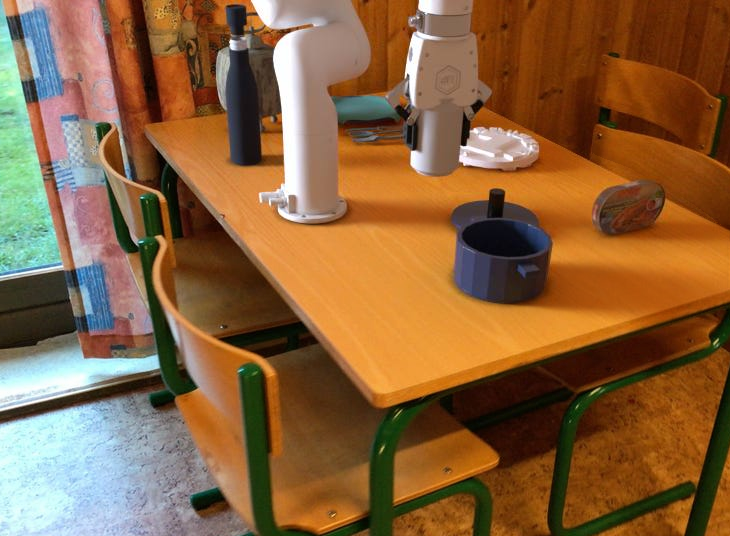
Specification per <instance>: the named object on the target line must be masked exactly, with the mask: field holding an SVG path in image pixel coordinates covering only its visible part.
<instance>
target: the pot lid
mask: <svg viewBox="0 0 730 536" xmlns="http://www.w3.org/2000/svg"><path fill="white" fill-rule="evenodd" d="M505 199H506V190H505V189H503V188H498V187H495V188H491V189H489V191H488V199H482V200H472V201H468V202H465V203H462V204H460V205H458V206H456V207H455V208H454V209H453V210H452V212H451V215H450V220H451V223H452V224H453V225H454V227H456V229H458V230H459V229H460V228H461V226H463V225H465V224H467V223H469V222H471V217H473V216H481V215H485V216H486V217H487V218H508V219H516V220H521V221H524V222H528V223H532V224H534V225H536V226H538V227H539V218H538V216H537V215H536V213H535V212H533V211H532V210H531V209H529V208H527V207H525V206H523V205H520V204H518V203H514V202H511V201H505Z"/></svg>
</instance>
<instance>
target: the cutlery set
mask: <svg viewBox="0 0 730 536" xmlns="http://www.w3.org/2000/svg"><path fill="white" fill-rule="evenodd" d="M330 97H331V99H332V101H333V103H334V105H335V107H336V110H337V116H338V124H341V125H344V124H345V123H347V124H348V123H349V124H375V123H376V124H377V123H382V122H383V123H384V122H386V121H390V120H393V119H394V121H395V124H397V123H399V121H400V120H401V119H402V118H401V117H400V116H399V115H398V114H397V113H396V112H395V111H394V109H393V108H392V107H391V105H390V104H389V102H388V101H387V100H386V98H385V96H380V95H372V94H366V95H345V96H330ZM389 129H390V130H389ZM403 129H404V125H401V126H385V125H381V126H379V125H377V126H376V127H359V128H349V129H345V133H348V136H349V137H352V138H351V141H352V143H356V144H357V143H358V144H359V143H377V142H379V141H380V140H385V141H386V140H387V141H393V140H403V134H400V135H392V136H391V135H390V136H379V135H385V134H395V133H403ZM381 130H382V131H381ZM373 131H377V132H373ZM353 138H354V139H353ZM355 138H356V139H355Z"/></svg>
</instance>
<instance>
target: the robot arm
mask: <svg viewBox="0 0 730 536" xmlns="http://www.w3.org/2000/svg"><path fill="white" fill-rule="evenodd" d="M250 1H251V3H252V4H253V7H254V9H255V12H257V13H258V15H259V16H260V17H259V16H258V17H259V18H260V20H261V21H262V22H263V24H264V23H265V25H266V27H267V28H270V29H273V30H286V29H291V28H292V29H293V28H297V27H302V26H307V25H312V26H310V27H306V28H301V29H297V30H293V31H292V32H289V33H287V34H285V35H284V36H282V37H281V38H280V39H279V40H278V42H277V43H276V45H275V50H274V57H273V59H274V68H275V72H276V76H277V81H278V85H279V90H280V96H281V105H282V113H281V116H282V117H281V119H282V138H283V165H284V183H281V184H280V186H281V187H280V188H277V189H276V191H263V192H262V191H261V192H259V202H260V204H268V203H269V207H277V212H278V214H279V215H280V216H281V217H282V218H283V219H286V220H289V221H291V222H295V223H299V224H312V225H314V224H324V223H330V222H333V221H336V220H338V219H340V218H342V217H343V216H344V215H345V214H346V213H347V211H348V204H347V201H346V200H345V199H344V198H343V197H342V196H340V195H339V123H338V116H337V110H336V107H335V105H334V103H333V101H332V99H331V97H332V96H331V95H330V93H329V91H328V87H330V86H333V85H335V84H336V85H337V84H340V83H343V82H347V81H350V80H354V79H356V78H358V77H361V76H362V75H363V74H364V73H366V72H367V70H368V68H369V67H370V64H371V59H372V49H371V43H370V40H369V38H368V35H367V32H366V30H365V27H364V26H363V22H362V21H361V19H360V16H359V15H358V12H357V11H356V9H355V7H354V5H353V2H352V0H250ZM473 7H474V0H418V9H416V14H414V15H413V16H408V19H407V20H408V21H407V22H408V26H409V27H412V28H413V27H414V28H415V30H416V31H414V32H413V33H412V36H411V39H410V44H409V48H408V53H407V58H406V64H405V65H406V66H405V72H404V73H405V74H404V79H402V80H401V81H400V82H399V83H397V84H396V85H395V86H394V87H393V88H392V89H391V90H389V91H388V92H387V93H386V94H385V96H384V98H386V100H387V101H388V102H389V104H390V105H391V107H392V108H393V109H394V111H395V112H396V113H397V114H398V115H399V116H400V117H401V119H402V120H403V126H404V128H402V129H403V132H402V135H403V139H402V141H403V143H404V145H405V146H406V147H407V148H408V149H409V150H410V152H411V151H415V150H416V149H417V133H418V126H417V124H415V121H416V119H417V117H418V115H419V114H420V110H428V109H432V108H434V107H435V106H437V105H439V104H441V101H439V100H440V99H455V100H453V101H451V103H453V104H455V105H457V106H460V107H464V111H463V122H462V134H461V146H462V147H465V146H467V139H469V137H470V130H471V125H472V121H473V120H475V117H476V115H477V113H479V111H480V110H481V109H482V108H483V107H484V104H485V103H486V102H487V100H488V99H490V97H491V95H492V94H493V90H492V89H491V88H490V87H489V86H488V85H486V84H485V83H484V82H483V81H482V80H481V79H479V57H478V56H479V54H478V41H477V35H476V34H475V33H473V32H471V31H472V21H473V20H472V19H473V9H474V8H473ZM403 96H404V98H405V100H406V101H408V102H407V103H406V105H405V107H403V105H402V104H401V102H400V98H401V97H403Z"/></svg>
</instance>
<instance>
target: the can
mask: <svg viewBox="0 0 730 536" xmlns="http://www.w3.org/2000/svg"><path fill="white" fill-rule="evenodd" d="M453 100H455V99H440V100H439V101H441V104H439V105H437V106H435V107H434V108H432V109H428V110H420V114H419V115H418V117H417V119H416V121H415V124H417V126H418V133H417V149H416V150H415V151H411V150H410V166H411V167H412V169H414V170H415V172H416V173H418V174H419V175H422V176H426V177H429V178H430V177H432V178H440V177H441V178H442V177H446V176H449V175H452V174H453V173H454V172H455V171H457V170H458V168H459V167H460V162H459V157H460V145H461V134H462V122H463V111H464V107H460V106H457V105H455V104H453V103H451V101H453Z"/></svg>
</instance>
